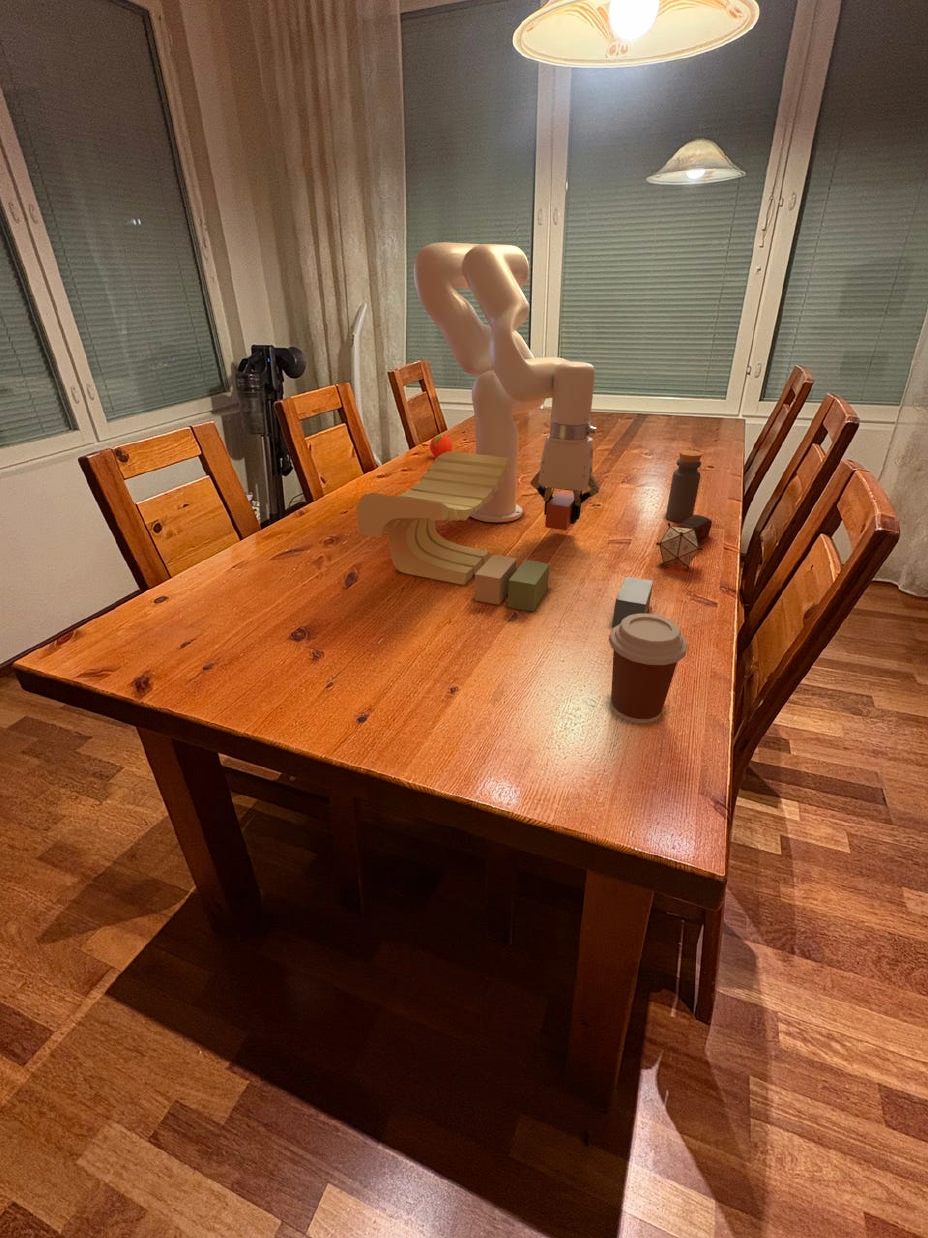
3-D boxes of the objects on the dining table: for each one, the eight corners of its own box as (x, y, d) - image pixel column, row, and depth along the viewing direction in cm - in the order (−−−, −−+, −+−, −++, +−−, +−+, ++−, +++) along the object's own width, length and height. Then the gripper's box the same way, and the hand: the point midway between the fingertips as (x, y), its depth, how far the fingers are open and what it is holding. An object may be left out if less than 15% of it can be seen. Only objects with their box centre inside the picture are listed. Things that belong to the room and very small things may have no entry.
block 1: (474, 600, 103) (474, 573, 101) (492, 579, 111) (493, 554, 108) (499, 605, 102) (500, 578, 99) (515, 583, 109) (517, 558, 107)
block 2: (507, 606, 101) (508, 579, 99) (523, 585, 109) (525, 559, 106) (533, 611, 100) (535, 584, 97) (548, 589, 107) (550, 563, 105)
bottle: (693, 516, 141) (706, 451, 133) (690, 524, 136) (703, 457, 129) (667, 512, 143) (678, 448, 135) (663, 520, 138) (675, 454, 131)
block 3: (611, 627, 95) (615, 599, 93) (621, 602, 103) (625, 576, 100) (640, 632, 94) (645, 604, 92) (648, 607, 101) (653, 580, 99)
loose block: (544, 527, 124) (546, 503, 121) (556, 513, 131) (558, 491, 128) (566, 530, 122) (568, 506, 120) (576, 516, 129) (579, 493, 127)
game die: (678, 580, 119) (714, 540, 116) (679, 583, 111) (718, 540, 108) (642, 551, 120) (677, 511, 117) (641, 552, 112) (679, 509, 109)
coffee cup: (688, 714, 76) (707, 633, 70) (637, 739, 72) (652, 655, 66) (635, 679, 83) (648, 602, 77) (585, 700, 79) (595, 620, 73)
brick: (690, 551, 122) (695, 529, 120) (672, 546, 124) (676, 525, 122) (709, 536, 129) (714, 515, 127) (691, 532, 131) (695, 511, 129)
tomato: (444, 462, 181) (444, 438, 178) (424, 460, 184) (423, 436, 180) (456, 456, 187) (456, 433, 184) (436, 454, 190) (436, 430, 186)
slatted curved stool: (437, 531, 131) (435, 449, 123) (506, 543, 126) (509, 457, 117) (363, 587, 107) (354, 490, 99) (443, 605, 102) (442, 503, 93)
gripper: (616, 431, 117) (605, 520, 126) (533, 423, 123) (528, 509, 132) (609, 439, 111) (597, 532, 120) (522, 431, 117) (517, 520, 126)
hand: (561, 519), depth 126 cm, fingers closed on loose block, 4 cm apart
